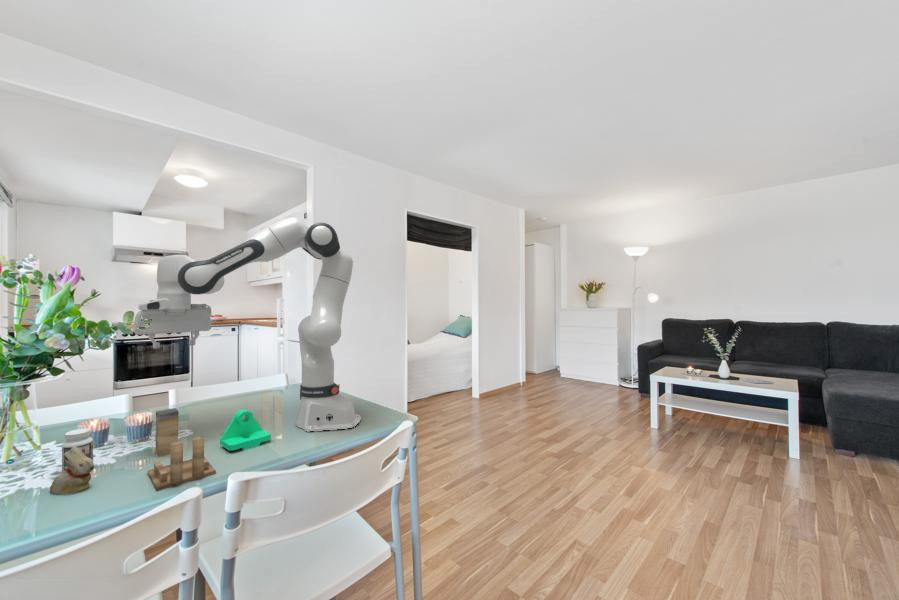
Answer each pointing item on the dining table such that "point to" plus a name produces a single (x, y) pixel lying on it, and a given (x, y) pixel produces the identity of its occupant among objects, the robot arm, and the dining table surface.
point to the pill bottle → (77, 444)
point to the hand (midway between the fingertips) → (174, 346)
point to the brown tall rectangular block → (166, 431)
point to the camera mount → (243, 432)
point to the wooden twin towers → (181, 466)
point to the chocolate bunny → (73, 473)
